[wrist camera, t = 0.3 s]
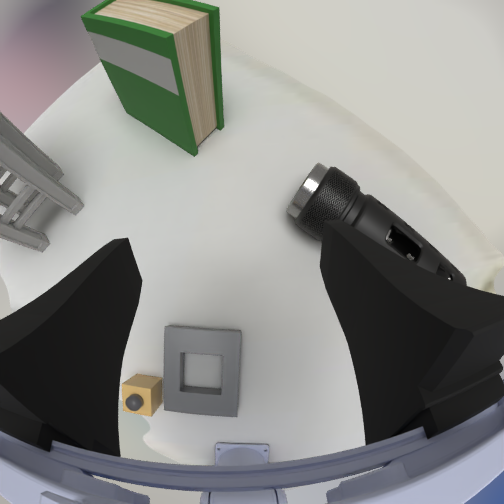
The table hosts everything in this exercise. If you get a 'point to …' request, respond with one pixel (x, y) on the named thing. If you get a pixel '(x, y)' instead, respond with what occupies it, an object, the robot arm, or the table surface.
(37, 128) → the table surface
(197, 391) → the socket housing
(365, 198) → the muzzle brake
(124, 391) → the plug
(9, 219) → the stool
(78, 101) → the table surface
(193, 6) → the hardback book
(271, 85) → the table surface
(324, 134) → the table surface
